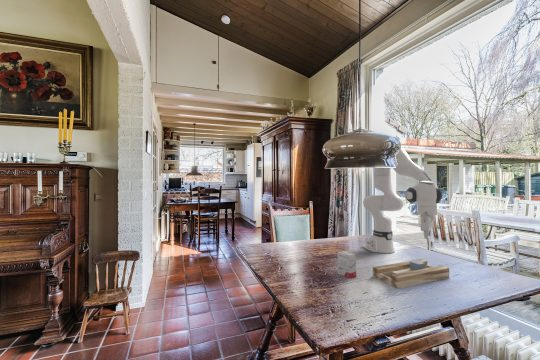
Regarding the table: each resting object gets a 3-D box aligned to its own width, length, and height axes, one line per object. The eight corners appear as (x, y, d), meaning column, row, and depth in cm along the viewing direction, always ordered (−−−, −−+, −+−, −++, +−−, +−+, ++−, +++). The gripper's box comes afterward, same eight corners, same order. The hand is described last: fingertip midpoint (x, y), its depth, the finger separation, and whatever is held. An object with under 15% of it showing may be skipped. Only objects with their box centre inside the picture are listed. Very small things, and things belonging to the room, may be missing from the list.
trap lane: (373, 276, 133) (372, 267, 133) (420, 267, 144) (420, 258, 144) (398, 288, 117) (397, 277, 117) (449, 277, 129) (449, 267, 129)
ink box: (356, 276, 133) (356, 254, 133) (350, 278, 130) (350, 255, 130) (343, 271, 140) (343, 250, 140) (337, 273, 138) (337, 251, 138)
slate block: (410, 269, 134) (409, 261, 134) (417, 267, 136) (416, 260, 136) (418, 272, 129) (418, 264, 129) (425, 270, 131) (425, 263, 131)
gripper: (431, 213, 125) (432, 241, 125) (436, 209, 141) (436, 234, 141) (416, 213, 129) (417, 240, 129) (423, 209, 145) (423, 233, 145)
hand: (427, 237), depth 135 cm, fingers open, 7 cm apart
